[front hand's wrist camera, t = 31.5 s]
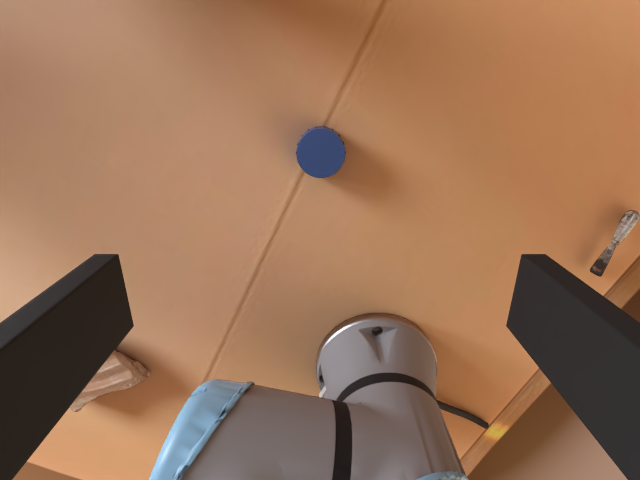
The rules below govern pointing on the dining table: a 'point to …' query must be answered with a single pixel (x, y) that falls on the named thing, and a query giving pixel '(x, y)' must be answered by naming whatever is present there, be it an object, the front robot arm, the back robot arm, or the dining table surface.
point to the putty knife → (615, 241)
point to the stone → (111, 378)
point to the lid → (320, 152)
